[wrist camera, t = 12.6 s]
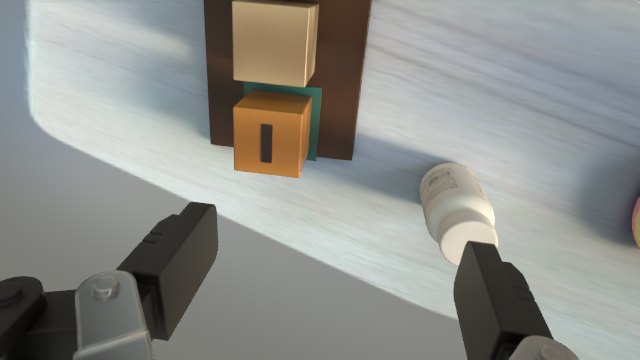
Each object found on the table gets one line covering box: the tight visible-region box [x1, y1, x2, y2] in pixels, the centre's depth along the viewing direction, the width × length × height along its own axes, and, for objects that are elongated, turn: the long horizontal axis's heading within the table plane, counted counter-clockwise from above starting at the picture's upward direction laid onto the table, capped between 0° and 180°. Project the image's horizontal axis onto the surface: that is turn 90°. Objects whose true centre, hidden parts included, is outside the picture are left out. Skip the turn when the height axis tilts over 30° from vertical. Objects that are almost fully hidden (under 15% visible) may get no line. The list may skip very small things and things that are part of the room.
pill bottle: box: [419, 163, 498, 266], centre depth 28 cm, size 4×4×8 cm
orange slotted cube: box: [233, 90, 312, 178], centre depth 28 cm, size 4×4×4 cm
